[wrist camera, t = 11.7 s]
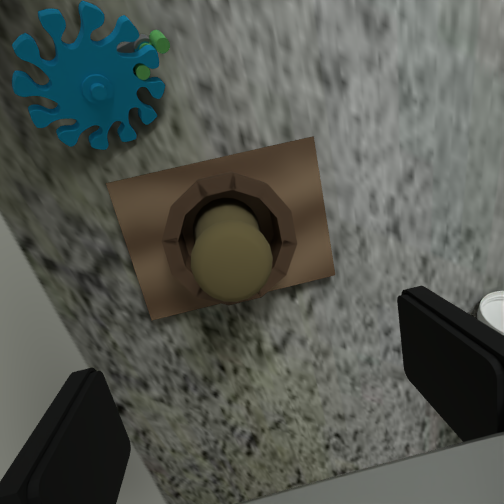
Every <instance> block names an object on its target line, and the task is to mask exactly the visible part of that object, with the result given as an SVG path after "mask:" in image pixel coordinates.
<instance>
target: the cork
mask: <svg viewBox="0 0 504 504" xmlns="http://www.w3.org/2000/svg"><path fill="white" fill-rule="evenodd" d="M193 238H194V241H195V245H194V247H193V250H192V253H191V270H192V273H193V276H194V279H195V280H196V282H197V283H198V284H199V286H200V287H201V289H202V290H203V291H204V292H206V293H207V294H208V295H210V296H211V297H213V298H215V299H218V300H221V301H228V302H237V301H241V300H245V299H248V298H250V297H251V296H253V295H255V294H256V293H258V292H259V291H260V290H261V289H262V287H263V286H264V285H265V284H266V283H267V280H268V278H269V276H270V273H271V270H272V261H273V257H272V252H271V248H270V245H269V243H268V242H267V240H266V239H265V237H264V236H263V234H262V233H261V232H260V227H259V223H258V219H257V217H256V215H255V213H254V212H253V210H252V209H251V208H250V207H249V206H248V205H246V204H245V203H244V202H242V201H239V200H237V199H234V198H220V199H216V200H212V201H211V202H209V203H208V204H206V205H205V206H203V207H202V209H201V210H200V211H199V212H198V214H197V215H196V218H195V220H194V223H193Z"/></svg>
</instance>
